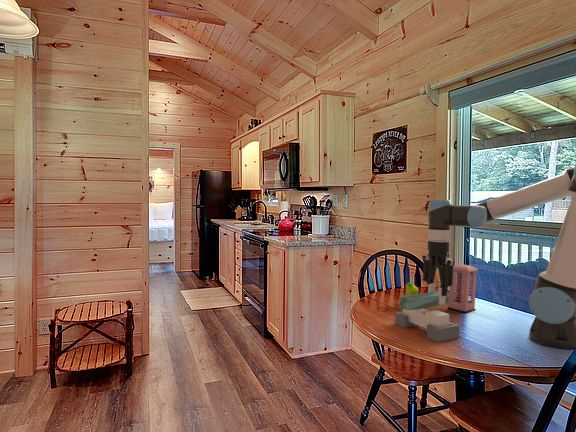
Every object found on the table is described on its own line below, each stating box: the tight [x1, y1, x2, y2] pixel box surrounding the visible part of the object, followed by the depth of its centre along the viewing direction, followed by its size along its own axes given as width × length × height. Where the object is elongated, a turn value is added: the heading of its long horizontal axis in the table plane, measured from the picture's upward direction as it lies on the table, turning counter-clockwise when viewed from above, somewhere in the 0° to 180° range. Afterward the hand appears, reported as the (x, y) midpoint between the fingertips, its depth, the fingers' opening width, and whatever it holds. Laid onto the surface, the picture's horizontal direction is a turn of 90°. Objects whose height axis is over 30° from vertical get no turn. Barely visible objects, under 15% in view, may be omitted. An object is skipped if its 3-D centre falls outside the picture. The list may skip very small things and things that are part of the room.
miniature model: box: [447, 264, 479, 314], centre depth 174 cm, size 9×9×20 cm
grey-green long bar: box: [398, 290, 450, 310], centre depth 146 cm, size 4×20×4 cm, turn 116°
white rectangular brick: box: [402, 308, 450, 330], centre depth 146 cm, size 18×5×6 cm, turn 26°
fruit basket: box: [405, 281, 426, 310], centre depth 178 cm, size 11×9×11 cm
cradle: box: [394, 310, 460, 343], centre depth 146 cm, size 22×10×4 cm, turn 26°
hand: (436, 302), depth 148 cm, fingers closed on grey-green long bar, 4 cm apart
